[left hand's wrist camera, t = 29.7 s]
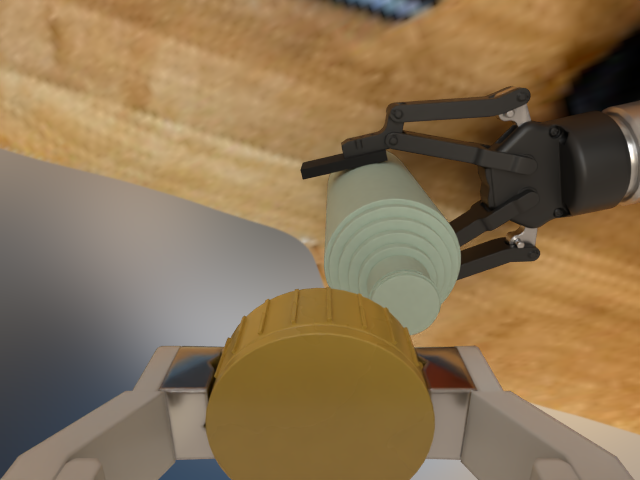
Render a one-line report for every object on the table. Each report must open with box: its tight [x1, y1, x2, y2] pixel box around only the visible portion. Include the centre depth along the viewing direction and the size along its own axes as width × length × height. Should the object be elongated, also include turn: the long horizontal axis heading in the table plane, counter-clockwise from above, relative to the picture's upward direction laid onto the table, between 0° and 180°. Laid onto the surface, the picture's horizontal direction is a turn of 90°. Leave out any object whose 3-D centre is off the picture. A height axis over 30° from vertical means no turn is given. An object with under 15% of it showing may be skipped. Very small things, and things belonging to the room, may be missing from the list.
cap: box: [205, 287, 435, 480], centre depth 10 cm, size 5×5×2 cm
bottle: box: [324, 151, 461, 335], centre depth 31 cm, size 8×8×22 cm
